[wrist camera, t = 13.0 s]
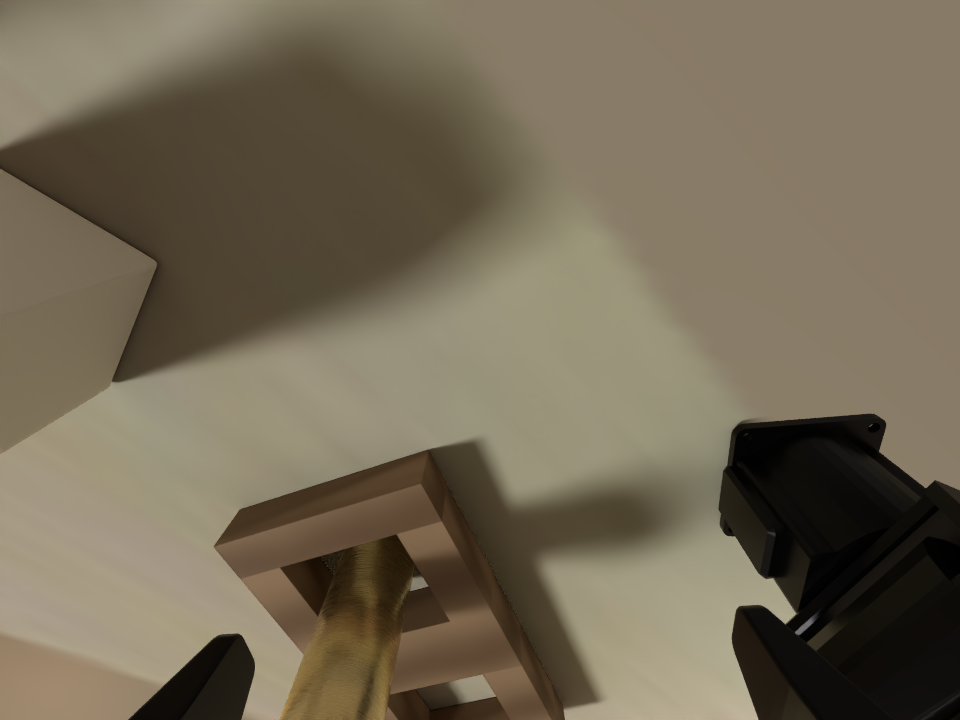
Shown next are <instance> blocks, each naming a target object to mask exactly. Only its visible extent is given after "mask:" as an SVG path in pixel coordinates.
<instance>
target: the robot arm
mask: <svg viewBox="0 0 960 720" xmlns="http://www.w3.org/2000/svg"><path fill="white" fill-rule="evenodd" d="M871 424H872V426H870V425H871ZM869 426H870V427H869ZM885 428H886V422H885V421H884V420H883V419H881V418H880V417H878V416H877V415H875V414H861V415H849V416H836V417H823V418H810V419H798V420H785V421H773V422H760V423H747V424H741V425H738V426H737V427H735V428H734V429H733V431H732V434H731V441H730V449H729V457H728V464H727V466H726V468H725V469H724V471H723V477H722V485H721V493H720V501H719V511H720V513H721V518H720V527H721V529H722V530H723V532H724V533H725V535H727V536H735V537H736V538H737V540H738V541H739V543H740V545H741V546H742V548H743V549H744V551H745V553H746V554H747V556H748V557H749V559H750V561H751V562H752V564H753V565H754V567H755V569H756V570H757V572H758V573H759V574H760V575H761V576H762V577H764V578H766V579H769V578H773V579H774V580H775V582H776V583H777V585H778V586H779V588H780V589H781V591H782V592H783V594H784V596H785V597H786V599H787V600H788V602H789V603H790V605H791V606H792V608H793V609H794V611H795V612H796V615H795V616H794V617H793V618H792V619H791V620H789V621H788V622H787V623H786V624H784V623H783V622H782V621H781V620H780V619H779V618H777V617H776V616H775V615H774V614H773V613H772V612H770V611H769V610H768V609H767V608H765V607H763V606H761V605H750V606H739V607H738V608H737V610H736V613H735V620H734V626H733V632H732V644H733V649H734V652H735V655H736V658H737V660H738V663H739V666H740V669H741V672H742V674H743V677H744V680H745V683H746V686H747V688H748V691H749V694H750V697H751V700H752V702H753V705H754V708H755V711H756V714H757V716H758V719H759V720H960V491H959V490H957V489H955V488H952V487H950V486H948V485H945V484H943V483H940V482H938V481H936V480H935V481H934V482H933V483H932V484H930V485H929V486H928V487H927V488H924V487H923V486H922V485H921V484H919V483H918V482H917V481H916V480H914V479H913V478H912V477H910V476H909V475H908V474H907V473H905V472H904V471H903V470H901V469H900V468H899V467H898V466H896V465H895V464H894V463H892V462H891V461H890V460H888V459H887V458H886V457H885V456H884V455H882V454H881V453H880V452H879V449H880V446H881V442H882V439H883V436H884V432H885ZM746 433H748V434H747V436H745V437H742V436H743V435H744V434H746ZM741 437H742V438H741ZM254 671H255V662H254V658H253V656H252V654H251V652H250V650H249V648H248V646H247V644H246V642H245V640H244V638H243V637H242V636H241V635H240V634H222V635H219V636H217V637H215V638H214V639H212V640H211V641H210V642H209V643H208V644H207V645H206V646H205V647H204V648H203V649H202V650H201V651H200V652H199V653H198V654H197V655H195V656H194V657H193V658H192V659H191V660H190V661H189V662H188V663H187V664H186V665H185V666H184V667H183V668H182V669H181V670H180V671H179V672H178V673H177V674H176V675H175V676H173V677H172V678H171V679H170V680H169V681H168V682H167V683H166V684H165V685H164V686H163V687H162V688H161V689H160V690H159V691H158V692H157V693H156V694H155V695H154V696H153V697H151V698H150V699H149V701H147V702H146V703H145V704H144V705H143V706H142V707H141V708H140V709H139V710H138V711H137V712H136V713H135V714H134V715H133V716H132V717H130V718H129V720H241V719H242V715H243V712H244V708H245V705H246V701H247V698H248V694H249V691H250V687H251V684H252V680H253V676H254Z"/></svg>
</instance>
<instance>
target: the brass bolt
mask: <svg viewBox="0 0 960 720" xmlns="http://www.w3.org/2000/svg"><path fill="white" fill-rule="evenodd" d="M414 567H415V563H414V562H413V560H412V558H411V557H410V555H409V554H408V552H407V550H406V549H405V547H404V545H403V544H402V542H401V541H400V539H399V537H398V536H397V534H396V535H392V536H389V537H385V538H382V539H378V540H375V541H371V542H368V543H364V544H361V545H357V546H354V547H350V548H347V549H344V550H343V552H342V555H341V558H340V560H339V563H338V566H337V568H336V571H335V574H334V576H333V579H332V582H331V584H330V587H329V590H328V592H327V595H326V598H325V600H324V603H323V606H322V608H321V611H320V614H319V616H318V619H317V622H316V624H315V627H314V630H313V632H312V635H311V638H310V640H309V643H308V645H307V648H306V651H305V653H304V656H303V659H302V661H301V664H300V667H299V669H298V672H297V675H296V677H295V680H294V683H293V685H292V688H291V691H290V693H289V696H288V699H287V701H286V704H285V707H284V709H283V712H282V715H281V717H280V720H385V718H386V712H387V707H388V702H389V697H390V692H391V686H392V681H393V676H394V671H395V666H396V661H397V655H398V650H399V645H400V640H401V635H402V629H403V624H404V619H405V614H406V609H407V604H408V598H409V593H410V588H411V583H412V578H413V573H414Z"/></svg>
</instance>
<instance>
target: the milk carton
mask: <svg viewBox="0 0 960 720" xmlns="http://www.w3.org/2000/svg"><path fill="white" fill-rule="evenodd" d="M156 267H157V262H156V261H154V260H153V259H152V258H150V257H148V256H147V255H145V254H144V253H142V252H140V251H139V250H137V249H135V248H134V247H132V246H130V245H128V244H127V243H125V242H123V241H122V240H120V239H118V238H117V237H115V236H113V235H112V234H110V233H108V232H106V231H105V230H103V229H101V228H100V227H98V226H96V225H95V224H93V223H91V222H90V221H88V220H86V219H85V218H83V217H81V216H79V215H78V214H76V213H74V212H73V211H71V210H69V209H68V208H66V207H64V206H63V205H61V204H59V203H57V202H56V201H54V200H52V199H51V198H49V197H47V196H46V195H44V194H42V193H41V192H39V191H37V190H35V189H34V188H32V187H30V186H29V185H27V184H25V183H24V182H22V181H20V180H19V179H17V178H15V177H13V176H12V175H10V174H8V173H7V172H5V171H3V170H2V169H0V454H1V453H3V452H4V451H6V450H8V449H9V448H11V447H13V446H14V445H16V444H17V443H19V442H21V441H22V440H24V439H26V438H27V437H29V436H31V435H32V434H34V433H35V432H37V431H39V430H40V429H42V428H44V427H45V426H47V425H48V424H50V423H52V422H53V421H55V420H57V419H58V418H60V417H61V416H63V415H65V414H66V413H68V412H70V411H71V410H73V409H75V408H76V407H78V406H79V405H81V404H83V403H84V402H86V401H88V400H89V399H91V398H92V397H94V396H96V395H97V394H99V393H101V392H102V391H104V390H105V389H107V388H108V387H109V386H110V384H111V381H112V379H113V376H114V374H115V371H116V368H117V366H118V363H119V361H120V358H121V356H122V353H123V351H124V348H125V346H126V343H127V341H128V338H129V336H130V333H131V330H132V328H133V325H134V323H135V320H136V318H137V315H138V313H139V310H140V308H141V305H142V303H143V300H144V297H145V295H146V292H147V290H148V287H149V285H150V282H151V280H152V277H153V275H154V272H155V269H156Z"/></svg>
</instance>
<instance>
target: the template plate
mask: <svg viewBox="0 0 960 720" xmlns="http://www.w3.org/2000/svg"><path fill="white" fill-rule="evenodd" d="M396 534H397V536H398V537H399V539H400V541H401V542H402V544H403V545H404V547H405V549H406V550H407V552H408V554H409V555H410V557H411V558H412V560H413V562H414V563H415V565H416V567H417V568H418V570H419V571H420V573H421V575H422V576H423V578H424V580H425V581H426V583H427V584H428V586H429V587H428V588H424V589H420V590H416V591H412V592H410V593H409V598H408V604H407V609H406V614H405V619H404V624H403V629H402V635H401V640H400V645H399V650H398V655H397V661H396V666H395V671H394V676H393V681H392V686H391V692H390V697H389V702H388V707H387V712H386V718H385V720H565V718H564V710H563V705H562V703H561V701H560V699H559V697H558V695H557V693H556V692H555V690H554V688H553V686H552V684H551V682H550V680H549V678H548V676H547V674H546V673H545V671H544V669H543V667H542V665H541V663H540V661H539V659H538V657H537V655H536V654H535V652H534V650H533V648H532V646H531V644H530V642H529V640H528V638H527V636H526V635H525V633H524V631H523V629H522V627H521V625H520V623H519V621H518V619H517V617H516V616H515V614H514V612H513V610H512V608H511V606H510V604H509V602H508V600H507V598H506V597H505V595H504V593H503V591H502V589H501V587H500V585H499V583H498V581H497V579H496V578H495V576H494V574H493V572H492V570H491V568H490V566H489V564H488V562H487V560H486V559H485V557H484V555H483V553H482V551H481V549H480V547H479V545H478V543H477V542H476V540H475V538H474V536H473V534H472V532H471V530H470V528H469V526H468V524H467V523H466V521H465V519H464V517H463V515H462V513H461V511H460V509H459V507H458V505H457V504H456V502H455V500H454V498H453V496H452V494H451V492H450V490H449V488H448V486H447V485H446V483H445V481H444V479H443V477H442V475H441V473H440V471H439V469H438V467H437V466H436V464H435V462H434V460H433V458H432V456H431V454H430V452H429V450H427V451H423V452H420V453H417V454H414V455H411V456H408V457H405V458H401V459H398V460H395V461H392V462H389V463H386V464H383V465H379V466H376V467H373V468H370V469H367V470H364V471H361V472H357V473H354V474H351V475H348V476H345V477H342V478H339V479H335V480H332V481H329V482H326V483H323V484H320V485H316V486H313V487H310V488H307V489H304V490H301V491H298V492H294V493H291V494H288V495H285V496H282V497H279V498H276V499H272V500H269V501H266V502H263V503H260V504H257V505H254V506H250V507H247V508H244V509H241V510H239V511H238V513H237V514H236V516H235V517H234V519H233V520H232V521H231V523H230V524H229V526H228V527H227V528H226V530H225V531H224V533H223V534H222V535H221V537H220V538H219V540H218V541H217V543H216V544H215V545H214V548H215V549H216V551H217V552H218V553H219V554H220V555H221V557H222V558H223V559H224V560H225V561H226V562H227V564H228V565H229V566H230V567H231V568H232V570H233V571H234V572H235V573H236V574H237V576H238V577H239V578H240V579H241V580H242V582H243V583H244V584H245V585H246V586H247V588H248V589H249V590H250V591H251V592H252V593H253V595H254V596H255V597H256V598H257V599H258V601H259V602H260V603H261V604H262V605H263V607H264V608H265V609H266V610H267V611H268V613H269V614H270V615H271V616H272V617H273V619H274V620H275V621H276V622H277V623H278V625H279V626H280V627H281V628H282V629H283V630H284V632H285V633H286V634H287V635H288V636H289V638H290V639H291V640H292V641H293V642H294V644H295V645H296V646H297V647H298V648H299V650H300V651H301V652H302V653H303V654H304V653H305V651H306V648H307V645H308V643H309V640H310V638H311V635H312V632H313V630H314V627H315V624H316V622H317V619H318V616H319V614H320V611H321V608H322V606H323V603H324V600H325V598H326V595H327V592H328V590H329V587H330V584H331V582H332V579H333V576H332V574H331V573H330V571H329V570H328V569H327V567H326V566H325V565H324V563H323V562H322V560H321V559H320V558H319V556H322V555H326V554H329V553H333V552H336V551H340V550H343V549H347V548H350V547H354V546H357V545H361V544H364V543H368V542H371V541H375V540H378V539H382V538H385V537H389V536H392V535H396ZM481 674H483V676H484V677H485V679H486V680H487V682H488V684H489V685H490V687H491V689H492V690H493V692H494V694H495V695H496V697H495V698H491V699H486V700H481V701H476V702H471V703H467V704H462V705H457V706H452V707H447V708H442V709H438V710H433V711H430V710H429V708H428V707H427V706H426V704H425V703H424V701H423V700H422V699H421V697H420V696H419V695H418V693H417V692H416V690H415V689H417V688H422V687H427V686H431V685H436V684H440V683H445V682H449V681H454V680H459V679H463V678H468V677H472V676H477V675H481Z"/></svg>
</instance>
